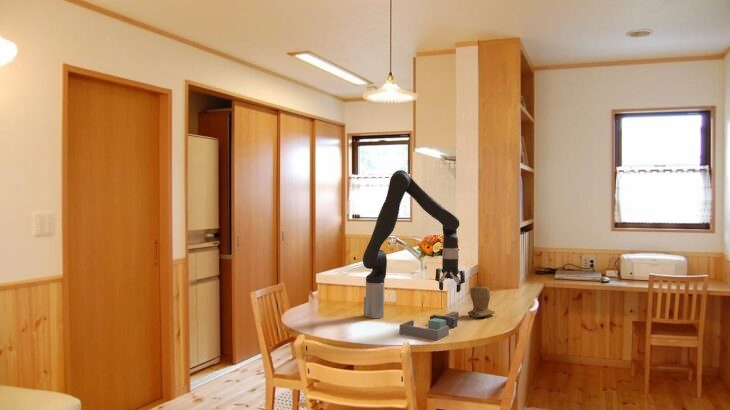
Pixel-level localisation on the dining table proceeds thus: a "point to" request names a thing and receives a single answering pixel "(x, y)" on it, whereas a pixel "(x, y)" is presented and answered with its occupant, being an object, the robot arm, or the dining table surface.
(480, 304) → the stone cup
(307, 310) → the dining table surface
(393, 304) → the dining table surface
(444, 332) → the box
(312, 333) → the dining table surface
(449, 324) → the long-handled tray
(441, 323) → the teal square block
